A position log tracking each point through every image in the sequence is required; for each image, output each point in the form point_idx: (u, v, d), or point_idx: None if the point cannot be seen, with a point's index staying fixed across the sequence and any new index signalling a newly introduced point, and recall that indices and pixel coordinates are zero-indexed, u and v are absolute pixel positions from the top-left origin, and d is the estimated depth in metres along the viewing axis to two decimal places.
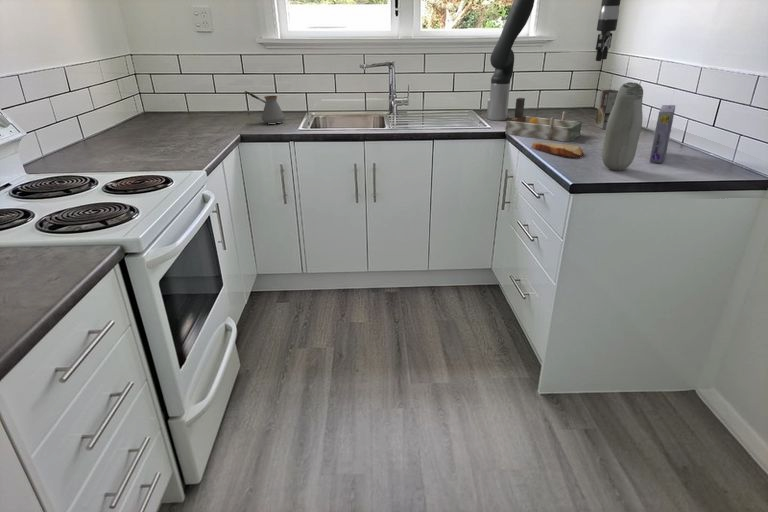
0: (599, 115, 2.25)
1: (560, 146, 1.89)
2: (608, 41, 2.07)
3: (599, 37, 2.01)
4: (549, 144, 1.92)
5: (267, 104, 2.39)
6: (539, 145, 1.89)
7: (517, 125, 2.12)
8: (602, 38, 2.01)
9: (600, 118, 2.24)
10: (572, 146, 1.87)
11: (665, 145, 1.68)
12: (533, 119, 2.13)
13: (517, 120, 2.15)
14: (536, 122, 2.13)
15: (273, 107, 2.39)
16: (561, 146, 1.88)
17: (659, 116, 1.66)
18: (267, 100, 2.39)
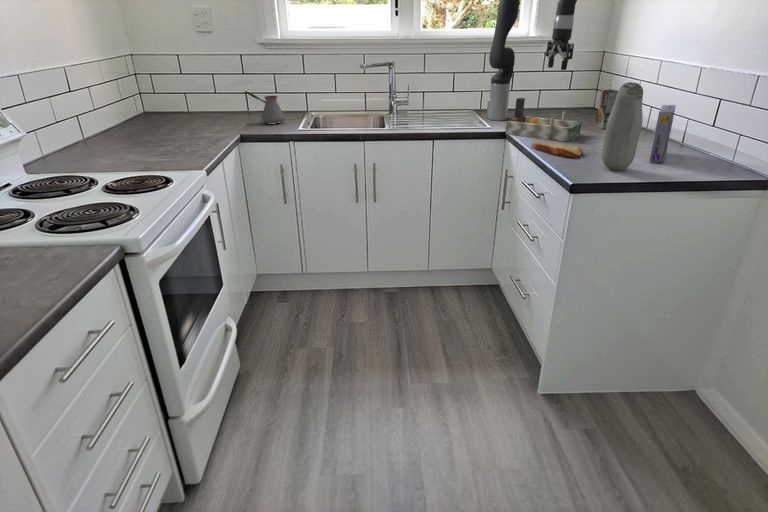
0: (599, 115, 2.25)
1: (560, 146, 1.88)
2: None
3: (570, 46, 2.00)
4: (549, 144, 1.92)
5: (267, 104, 2.39)
6: (539, 145, 1.89)
7: (517, 125, 2.12)
8: (572, 47, 2.01)
9: (600, 118, 2.24)
10: (572, 146, 1.87)
11: (665, 145, 1.68)
12: (533, 119, 2.13)
13: (517, 120, 2.15)
14: (536, 122, 2.13)
15: (273, 107, 2.39)
16: (561, 146, 1.88)
17: (659, 116, 1.66)
18: (267, 100, 2.39)
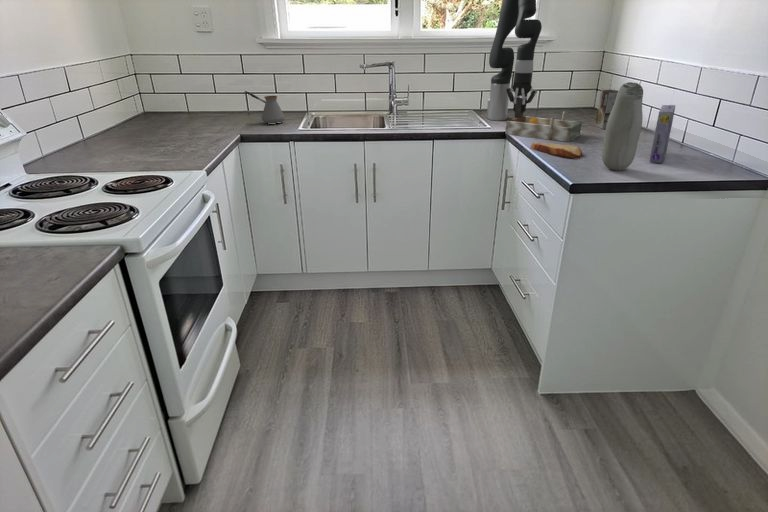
0: (599, 115, 2.25)
1: (559, 146, 1.88)
2: None
3: (534, 93, 2.09)
4: (548, 144, 1.92)
5: (267, 104, 2.39)
6: (538, 145, 1.89)
7: (517, 125, 2.12)
8: None
9: (600, 118, 2.24)
10: (571, 146, 1.87)
11: (665, 145, 1.68)
12: (533, 119, 2.13)
13: (517, 120, 2.15)
14: (536, 122, 2.13)
15: (273, 107, 2.39)
16: (560, 146, 1.88)
17: (659, 116, 1.66)
18: (267, 100, 2.39)
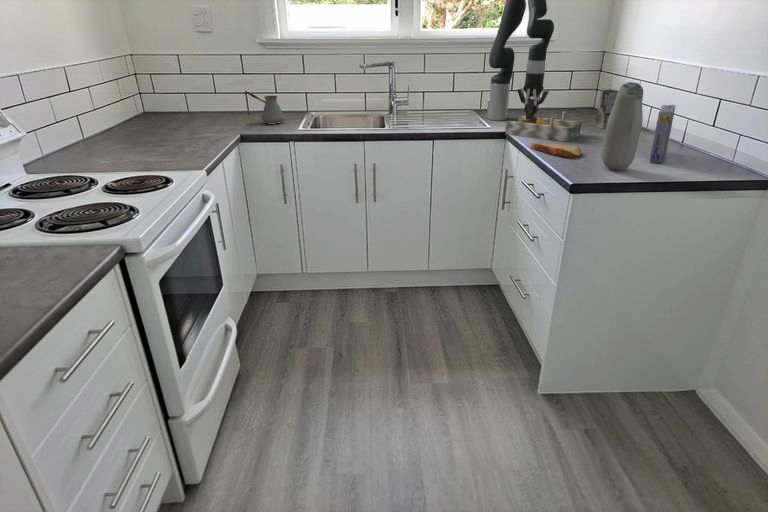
0: (599, 115, 2.25)
1: (559, 146, 1.88)
2: None
3: (546, 94, 2.07)
4: (548, 144, 1.92)
5: (267, 104, 2.39)
6: (538, 145, 1.89)
7: (517, 125, 2.12)
8: (546, 95, 2.08)
9: (600, 118, 2.24)
10: (571, 146, 1.87)
11: (665, 145, 1.68)
12: (542, 123, 2.11)
13: (528, 121, 2.12)
14: None
15: (273, 107, 2.39)
16: (560, 146, 1.88)
17: (659, 116, 1.66)
18: (267, 100, 2.39)
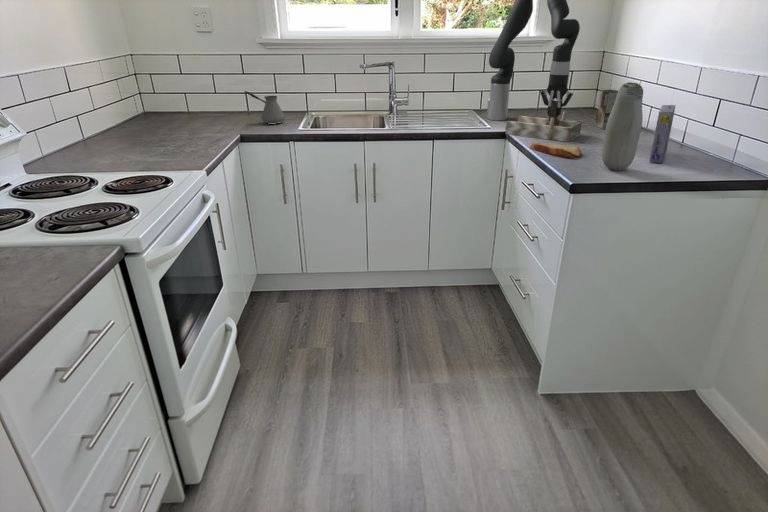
0: (599, 115, 2.25)
1: (558, 146, 1.88)
2: None
3: (570, 96, 2.01)
4: (547, 144, 1.92)
5: (267, 104, 2.39)
6: (537, 145, 1.89)
7: (517, 125, 2.12)
8: None
9: (600, 118, 2.24)
10: (570, 146, 1.86)
11: (665, 145, 1.68)
12: None
13: None
14: None
15: (273, 107, 2.39)
16: (559, 146, 1.88)
17: (659, 116, 1.66)
18: (267, 100, 2.39)
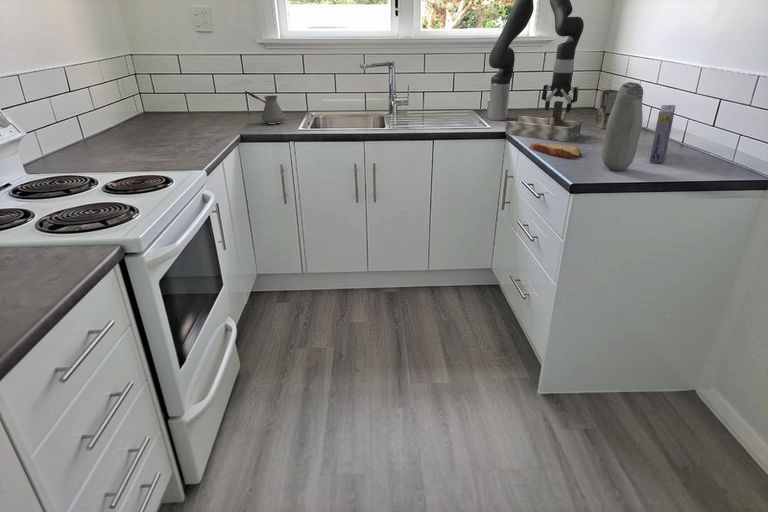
0: (599, 115, 2.25)
1: (558, 146, 1.88)
2: None
3: (577, 90, 1.99)
4: (547, 144, 1.92)
5: (267, 104, 2.39)
6: (537, 145, 1.89)
7: (517, 125, 2.12)
8: (577, 90, 2.00)
9: (600, 118, 2.24)
10: (570, 146, 1.86)
11: (665, 145, 1.68)
12: None
13: (555, 124, 2.06)
14: None
15: (273, 107, 2.39)
16: (559, 146, 1.88)
17: (659, 116, 1.66)
18: (267, 100, 2.39)
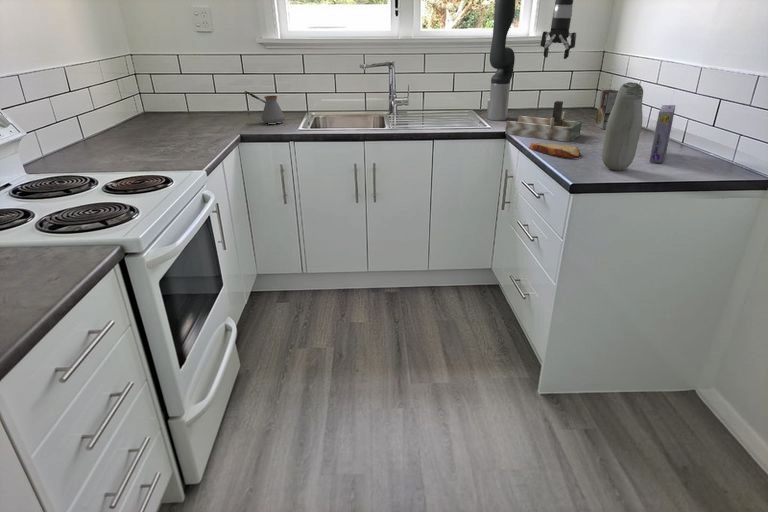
0: (599, 115, 2.25)
1: (557, 147, 1.88)
2: None
3: (574, 35, 2.05)
4: (546, 145, 1.91)
5: (267, 104, 2.39)
6: (536, 146, 1.89)
7: (517, 125, 2.12)
8: (575, 36, 2.06)
9: (600, 118, 2.24)
10: (569, 147, 1.86)
11: (665, 145, 1.68)
12: None
13: (555, 124, 2.06)
14: None
15: (273, 107, 2.39)
16: (558, 147, 1.88)
17: (659, 116, 1.66)
18: (267, 100, 2.39)
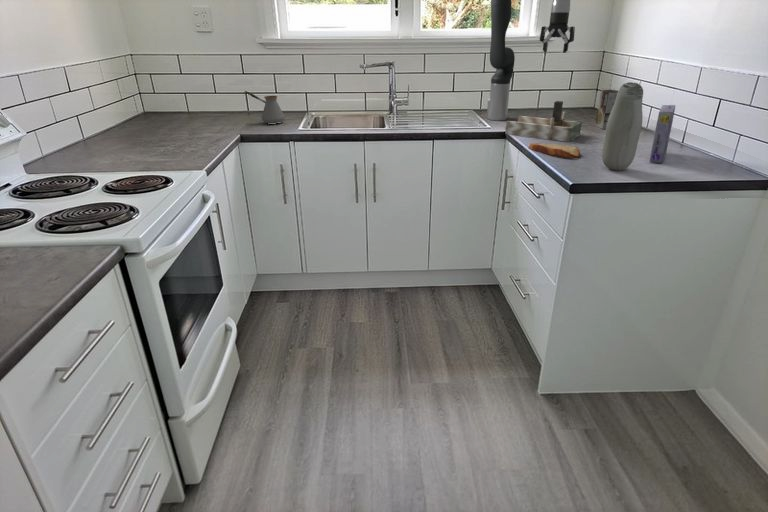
0: (599, 115, 2.25)
1: (557, 147, 1.88)
2: None
3: (573, 29, 2.08)
4: (546, 145, 1.91)
5: (267, 104, 2.39)
6: (536, 146, 1.89)
7: (517, 125, 2.12)
8: (574, 30, 2.09)
9: (600, 118, 2.24)
10: (569, 147, 1.86)
11: (665, 145, 1.68)
12: None
13: (555, 124, 2.06)
14: None
15: (273, 107, 2.39)
16: (558, 147, 1.88)
17: (659, 116, 1.66)
18: (267, 100, 2.39)
